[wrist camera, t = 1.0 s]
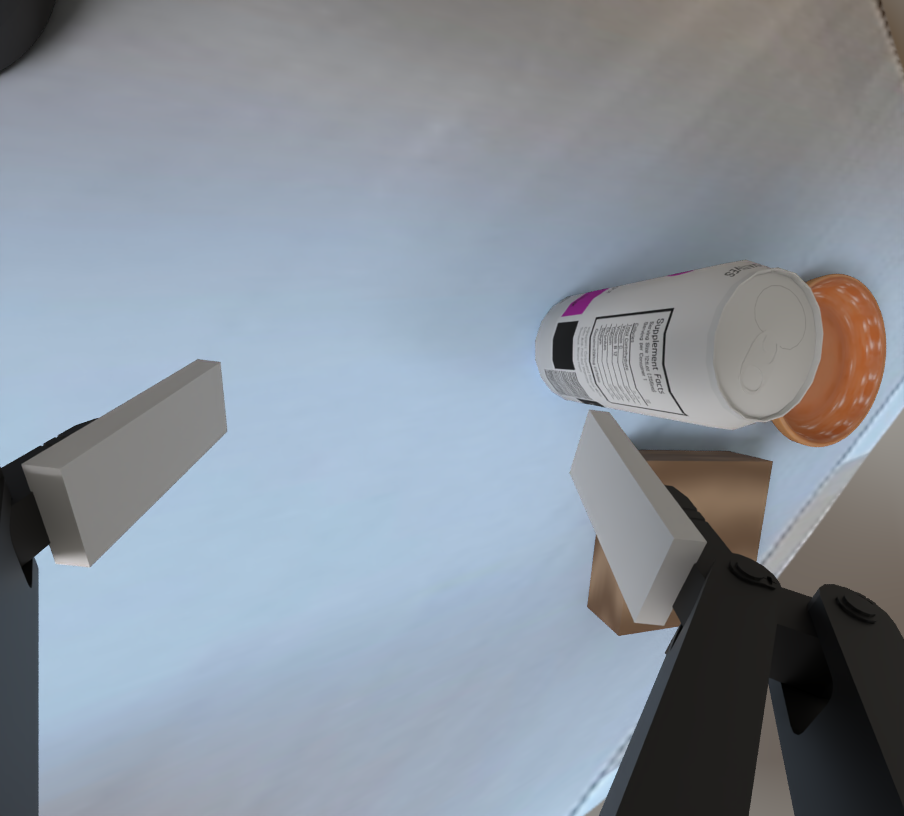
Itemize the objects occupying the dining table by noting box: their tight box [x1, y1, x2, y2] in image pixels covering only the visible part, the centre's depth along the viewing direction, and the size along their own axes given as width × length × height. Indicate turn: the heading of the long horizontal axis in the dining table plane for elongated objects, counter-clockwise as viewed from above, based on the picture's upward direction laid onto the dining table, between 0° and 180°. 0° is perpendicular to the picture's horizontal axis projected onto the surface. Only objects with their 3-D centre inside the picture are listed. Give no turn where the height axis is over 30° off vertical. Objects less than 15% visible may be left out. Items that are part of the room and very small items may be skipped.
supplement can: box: [535, 260, 823, 430], centre depth 26 cm, size 8×8×15 cm
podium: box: [587, 450, 773, 636], centre depth 37 cm, size 14×14×4 cm
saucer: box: [771, 274, 886, 447], centre depth 41 cm, size 16×16×3 cm
